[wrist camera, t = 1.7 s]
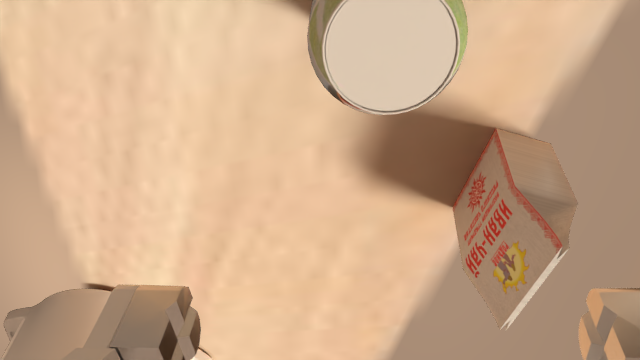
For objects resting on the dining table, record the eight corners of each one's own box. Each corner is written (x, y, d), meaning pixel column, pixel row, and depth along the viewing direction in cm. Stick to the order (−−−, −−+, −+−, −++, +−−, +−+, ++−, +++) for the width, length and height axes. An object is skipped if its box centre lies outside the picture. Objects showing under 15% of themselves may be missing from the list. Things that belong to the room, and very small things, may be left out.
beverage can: (306, 25, 32) (275, 140, 22) (336, -116, 27) (315, -49, 18) (413, 51, 32) (428, 175, 22) (460, -83, 28) (504, -1, 18)
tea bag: (550, 143, 35) (602, 256, 27) (502, 220, 39) (534, 338, 31) (495, 128, 35) (531, 238, 27) (452, 207, 39) (472, 323, 31)
